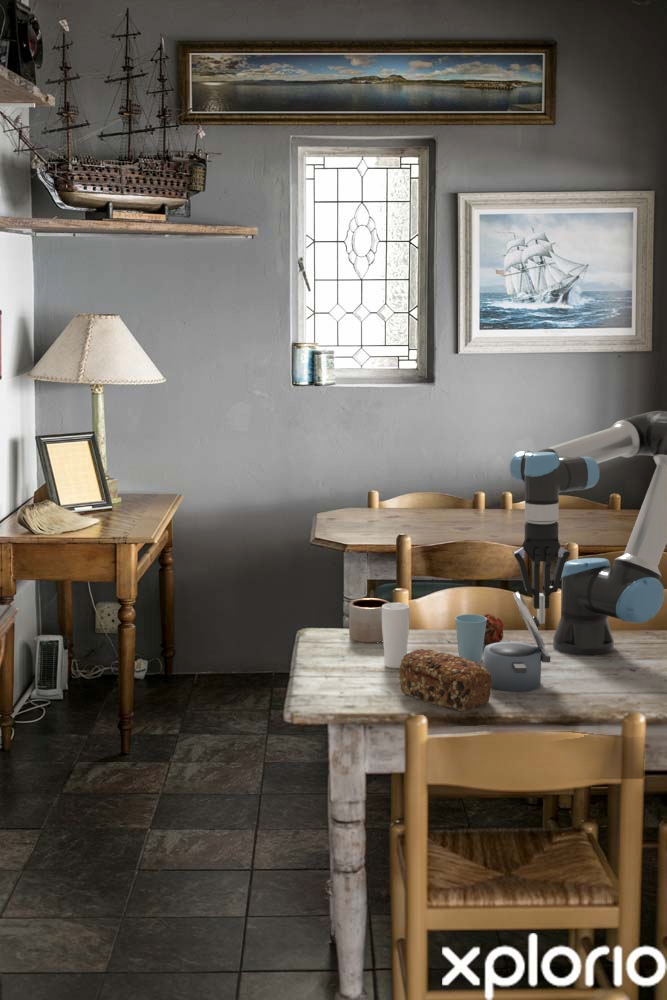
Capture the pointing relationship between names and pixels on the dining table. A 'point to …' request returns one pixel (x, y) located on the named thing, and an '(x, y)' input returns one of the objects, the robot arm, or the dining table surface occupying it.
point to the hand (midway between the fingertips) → (540, 622)
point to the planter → (366, 620)
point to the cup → (470, 636)
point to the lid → (529, 621)
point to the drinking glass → (395, 633)
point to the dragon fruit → (493, 630)
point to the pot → (514, 666)
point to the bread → (444, 680)
